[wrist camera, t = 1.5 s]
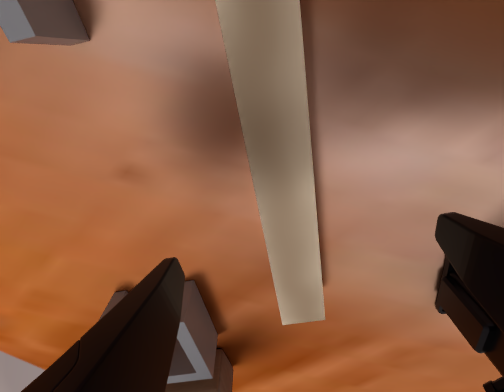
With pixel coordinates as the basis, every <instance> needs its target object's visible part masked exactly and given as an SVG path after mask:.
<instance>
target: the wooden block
mask: <svg viewBox="0 0 504 392" xmlns="http://www.w3.org/2000/svg"><path fill="white" fill-rule="evenodd" d="M232 382H233V367H232V365H231V364H230V362H229V360H228V359H227V357H226V355H225V353H224V352H223V350H222V349H217V350H216V356H215V364H214V373H213V378H211V379H203V380H195V381H186V382H178V383H169V384H167V386H166V390H165V392H232Z"/></svg>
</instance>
